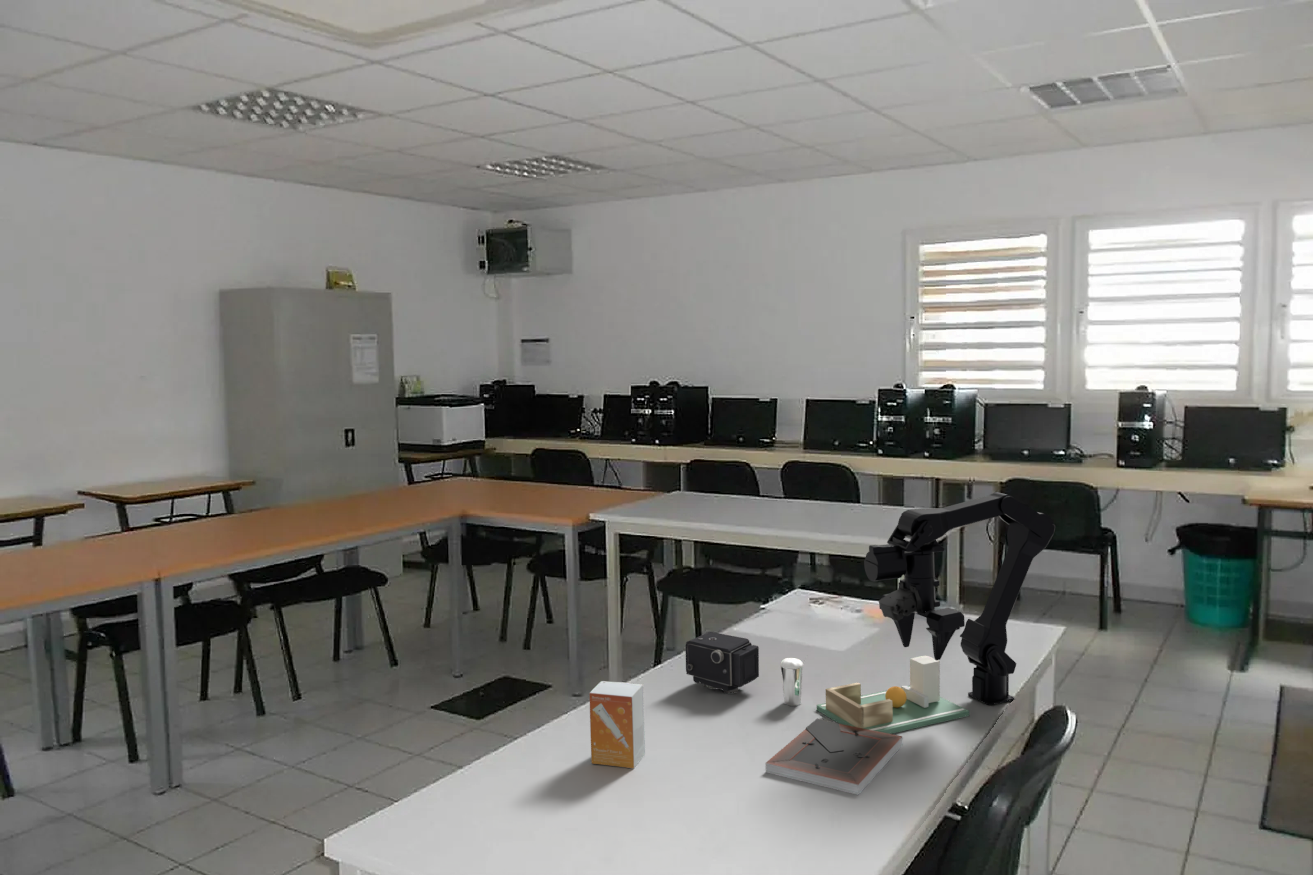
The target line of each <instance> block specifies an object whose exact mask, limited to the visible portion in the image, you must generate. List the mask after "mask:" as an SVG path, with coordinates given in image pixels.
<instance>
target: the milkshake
mask: <svg viewBox="0 0 1313 875" xmlns="http://www.w3.org/2000/svg"><path fill="white" fill-rule="evenodd" d="M807 656H808V655H806V657H805V658H804V659H805V660H804V662H803V661H801V660H800V659H799V658H796V657H795V658H794V657H786V658H783V659H782V661H781V662H780V673H781V681H782V682H781V683H782V693H783V694H782V695H783V703H784V704H785V705H786V706H789V707H797V706H799V705H801V704H802V689H803V688H802V687H803V685H802V684H803V672H804V671H803V669H804V664H805V662H806V659H807Z"/></svg>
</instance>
